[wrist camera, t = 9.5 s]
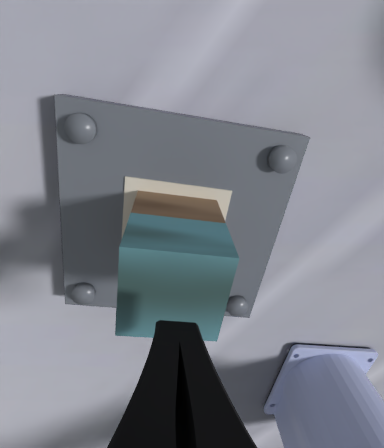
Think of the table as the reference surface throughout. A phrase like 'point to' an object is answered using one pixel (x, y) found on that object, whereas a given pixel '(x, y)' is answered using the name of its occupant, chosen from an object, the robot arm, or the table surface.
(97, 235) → the plate
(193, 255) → the teal and brown block
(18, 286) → the table surface
